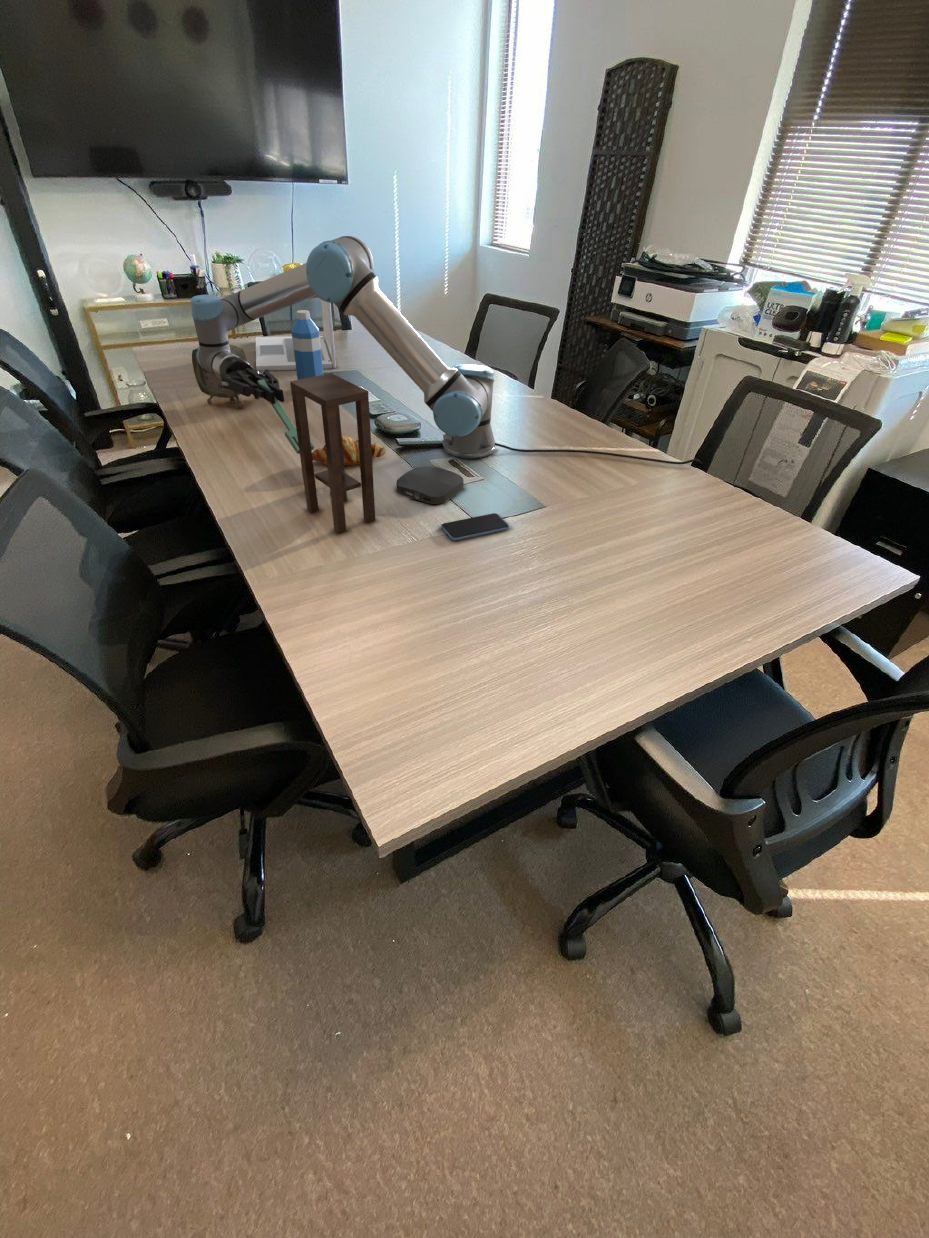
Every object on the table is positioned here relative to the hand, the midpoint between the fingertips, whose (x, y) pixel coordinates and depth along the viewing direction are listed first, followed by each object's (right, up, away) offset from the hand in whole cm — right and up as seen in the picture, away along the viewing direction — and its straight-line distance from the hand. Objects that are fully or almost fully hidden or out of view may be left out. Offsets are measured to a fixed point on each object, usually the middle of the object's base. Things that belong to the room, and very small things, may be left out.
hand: (277, 397), depth 143 cm
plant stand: (+15, -28, -1) cm, 32 cm away
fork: (+1, -4, +2) cm, 5 cm away
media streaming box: (+36, -20, +12) cm, 42 cm away
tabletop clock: (-32, +17, +52) cm, 64 cm away
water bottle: (-8, +26, +65) cm, 71 cm away
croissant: (+13, -9, +23) cm, 28 cm away
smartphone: (+47, -32, -3) cm, 57 cm away
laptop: (-23, +53, +97) cm, 113 cm away
